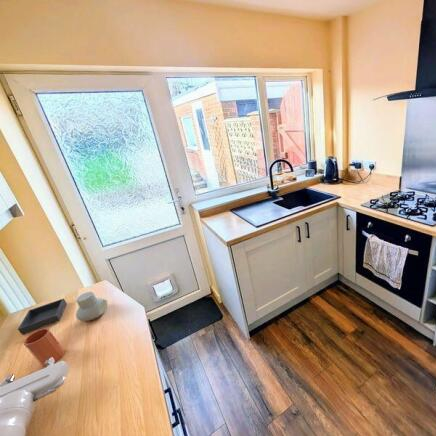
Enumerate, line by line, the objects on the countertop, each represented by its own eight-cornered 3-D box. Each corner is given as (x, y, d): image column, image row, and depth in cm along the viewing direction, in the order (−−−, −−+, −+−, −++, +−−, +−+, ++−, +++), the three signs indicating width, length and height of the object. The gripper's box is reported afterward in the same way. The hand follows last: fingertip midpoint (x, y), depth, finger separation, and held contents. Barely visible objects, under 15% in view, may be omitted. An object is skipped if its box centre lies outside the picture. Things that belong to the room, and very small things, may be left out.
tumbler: (38, 370, 83) (20, 348, 78) (44, 355, 88) (27, 334, 83) (62, 360, 86) (45, 338, 81) (66, 346, 91) (51, 325, 86)
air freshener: (100, 321, 100) (89, 303, 96) (77, 326, 99) (65, 308, 95) (111, 303, 110) (101, 285, 106) (91, 307, 109) (80, 290, 105)
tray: (21, 334, 98) (17, 329, 97) (32, 315, 108) (29, 310, 107) (59, 320, 103) (56, 315, 102) (67, 303, 113) (63, 298, 112)
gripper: (56, 380, 67) (68, 343, 78) (-52, 429, 58) (-22, 380, 70) (67, 394, 70) (77, 356, 81) (-35, 443, 61) (-8, 393, 72)
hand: (31, 367), depth 75 cm, fingers open, 8 cm apart
